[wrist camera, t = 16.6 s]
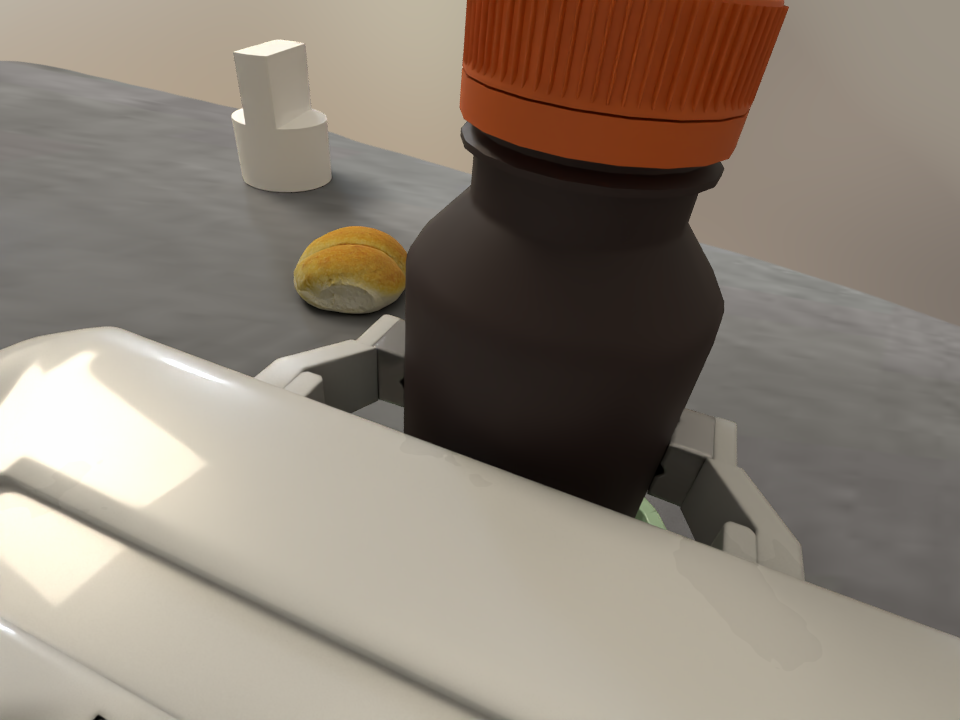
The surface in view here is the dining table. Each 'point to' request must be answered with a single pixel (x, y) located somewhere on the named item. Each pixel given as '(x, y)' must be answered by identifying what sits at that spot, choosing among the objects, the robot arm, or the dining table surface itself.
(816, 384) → the dining table surface
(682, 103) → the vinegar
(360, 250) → the bread roll
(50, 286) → the dining table surface
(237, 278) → the dining table surface
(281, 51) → the cylinder with rectangular tab
